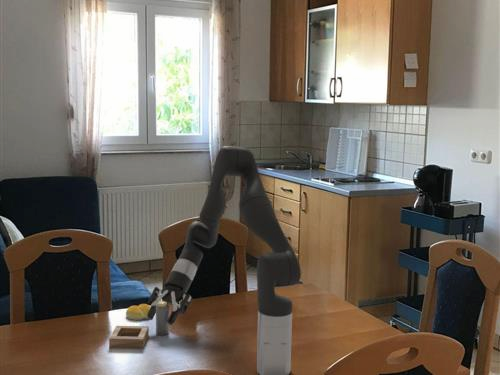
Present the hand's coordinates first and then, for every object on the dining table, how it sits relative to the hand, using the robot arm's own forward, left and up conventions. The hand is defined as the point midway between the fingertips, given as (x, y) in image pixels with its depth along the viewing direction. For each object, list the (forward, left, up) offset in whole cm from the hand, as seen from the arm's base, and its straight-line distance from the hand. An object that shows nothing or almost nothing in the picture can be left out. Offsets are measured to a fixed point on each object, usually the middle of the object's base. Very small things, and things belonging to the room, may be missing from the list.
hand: (159, 321), depth 185 cm
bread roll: (+16, +9, -5) cm, 19 cm away
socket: (-6, +8, -4) cm, 11 cm away
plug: (+1, -1, -4) cm, 5 cm away
